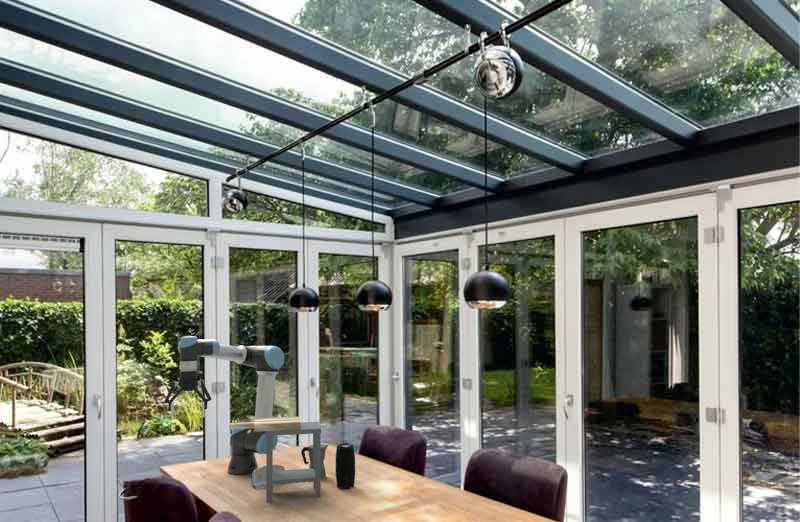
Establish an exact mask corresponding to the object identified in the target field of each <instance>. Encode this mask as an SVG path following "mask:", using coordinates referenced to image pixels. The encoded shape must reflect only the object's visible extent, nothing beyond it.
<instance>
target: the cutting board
mask: <svg viewBox="0 0 800 522" xmlns="http://www.w3.org/2000/svg"><path fill="white" fill-rule="evenodd" d="M254 421H255V422H254ZM254 421H249V422H247V421H244V422H243V421H242V422H230V423H229V424H228V429H229V430H232V429H245V428H254V432H258V431H277V430H297V429H300V423H301V419H300V416H284V417H272V418H258V419H255V418H254Z"/></svg>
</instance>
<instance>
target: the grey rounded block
mask: <svg viewBox="0 0 800 522" xmlns="http://www.w3.org/2000/svg"><path fill="white" fill-rule="evenodd" d="M284 466H285V465H284ZM284 466H283V465H280V464H273V471H279V470H286V469H285V467H284ZM251 474H252V475H251V476H252V478H251V480H252V482H251V483H252V484H251V487H253V486H254V488H256V489H255V490H258V489H263V488H262V487H264V488H266V465H263V466H260V467H258V469H256V470H254V471H253V473H251ZM286 484H288V483H286ZM286 484H285V485H286ZM274 485H276V486H279V485H280V486H282V484H273V487H275V486H274ZM257 488H258V489H257Z"/></svg>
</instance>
